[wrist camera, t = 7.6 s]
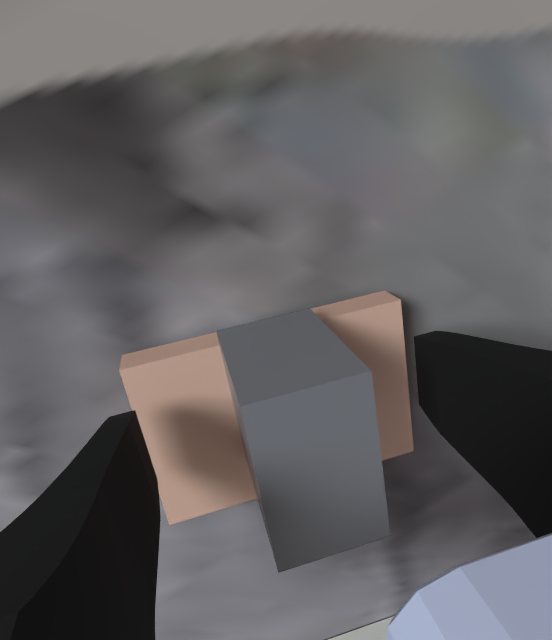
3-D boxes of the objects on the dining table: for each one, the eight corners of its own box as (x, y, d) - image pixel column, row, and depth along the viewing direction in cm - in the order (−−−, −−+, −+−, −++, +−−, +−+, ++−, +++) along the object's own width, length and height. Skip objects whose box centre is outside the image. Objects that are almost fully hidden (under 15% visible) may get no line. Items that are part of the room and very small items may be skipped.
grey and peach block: (383, 277, 14) (495, 337, 9) (398, 434, 16) (497, 548, 11) (118, 341, 13) (93, 446, 8) (168, 501, 15) (172, 660, 10)
